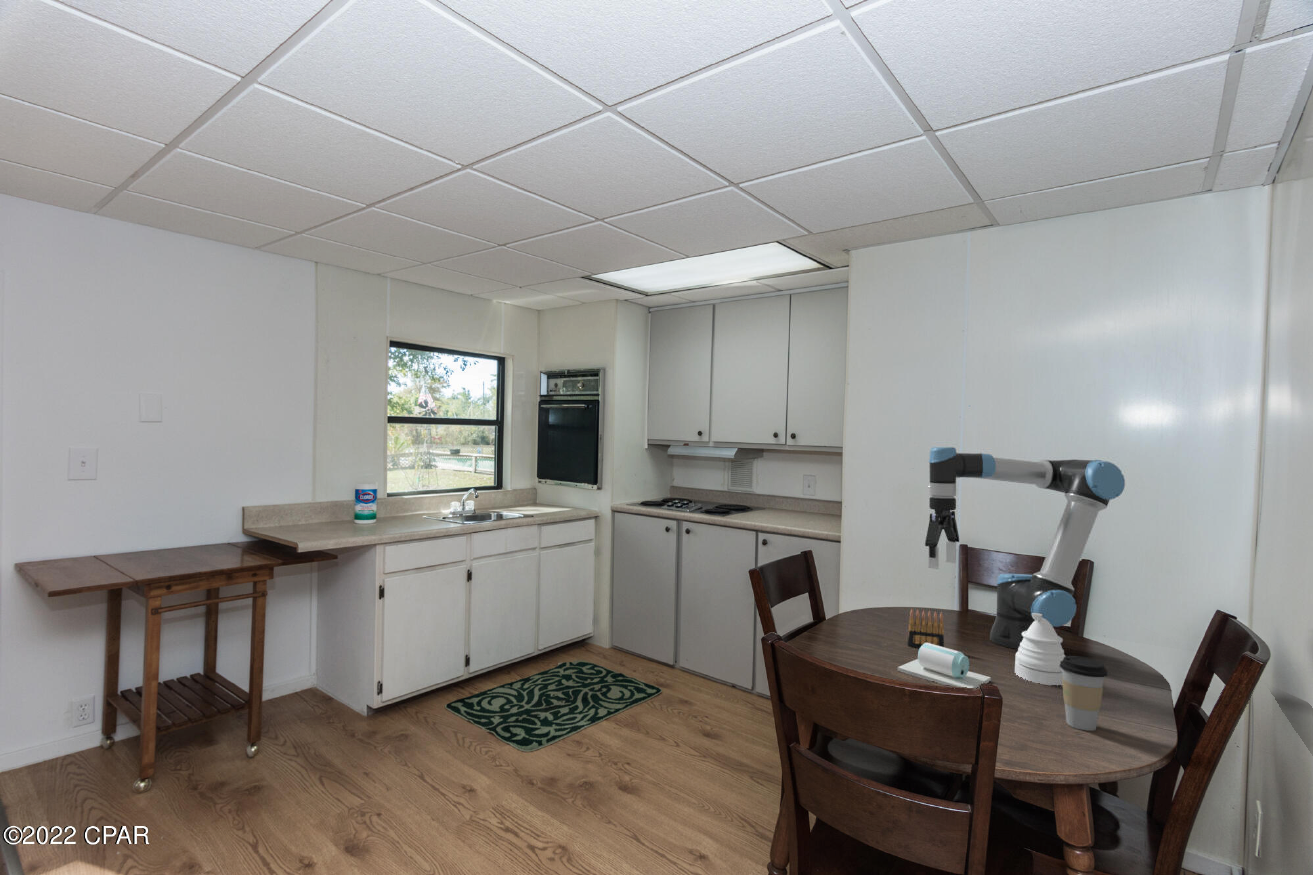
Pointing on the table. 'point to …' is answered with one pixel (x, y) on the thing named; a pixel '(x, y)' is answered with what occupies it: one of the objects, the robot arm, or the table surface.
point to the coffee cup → (1082, 691)
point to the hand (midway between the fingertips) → (942, 565)
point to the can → (943, 660)
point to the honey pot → (1040, 653)
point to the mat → (943, 676)
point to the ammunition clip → (925, 630)
